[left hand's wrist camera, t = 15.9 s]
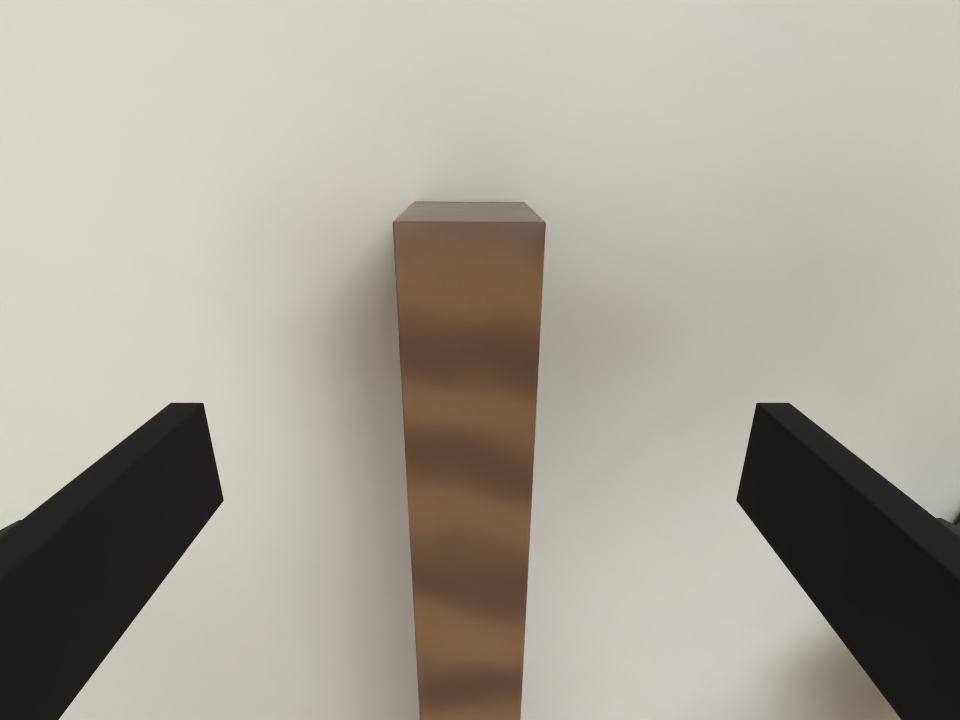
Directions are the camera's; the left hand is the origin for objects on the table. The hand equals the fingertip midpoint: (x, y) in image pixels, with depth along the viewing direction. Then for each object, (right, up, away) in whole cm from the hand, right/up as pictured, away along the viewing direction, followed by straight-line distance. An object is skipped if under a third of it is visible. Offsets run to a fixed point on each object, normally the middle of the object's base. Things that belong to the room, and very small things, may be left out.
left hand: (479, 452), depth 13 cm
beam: (-1, -16, +24) cm, 29 cm away
